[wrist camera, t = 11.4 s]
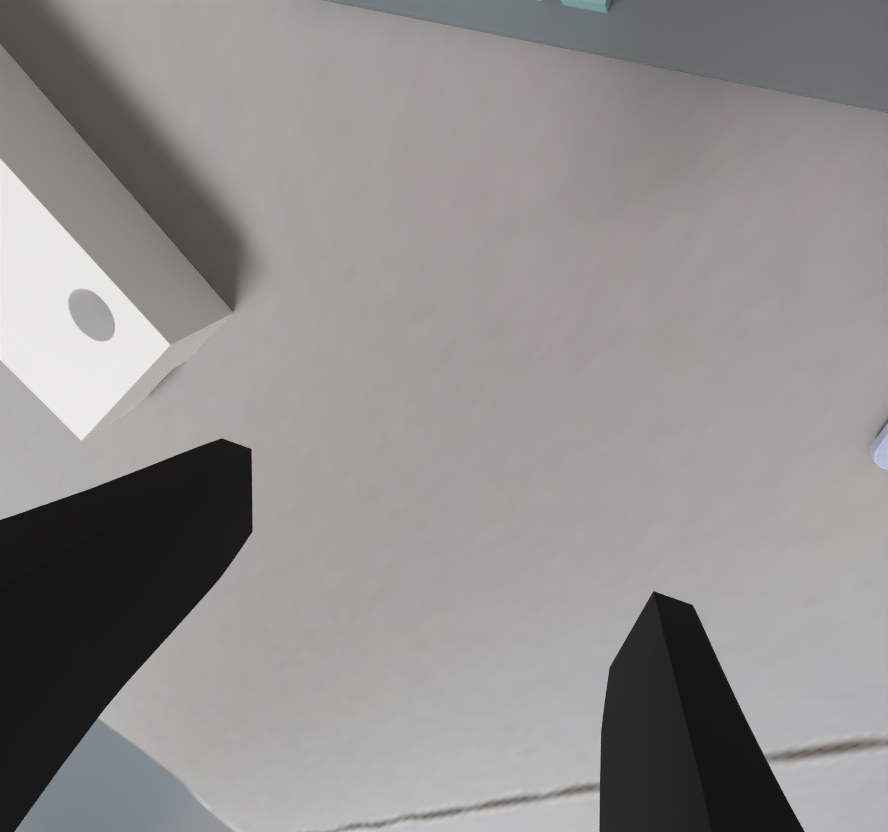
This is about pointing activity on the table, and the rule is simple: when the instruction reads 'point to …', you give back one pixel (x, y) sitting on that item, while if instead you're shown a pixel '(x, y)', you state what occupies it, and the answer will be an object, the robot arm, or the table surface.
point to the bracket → (85, 272)
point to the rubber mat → (701, 37)
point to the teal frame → (588, 4)
